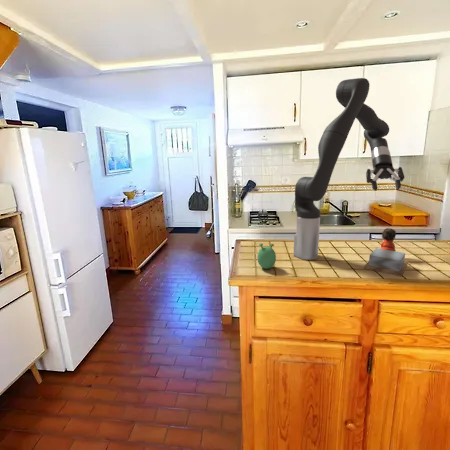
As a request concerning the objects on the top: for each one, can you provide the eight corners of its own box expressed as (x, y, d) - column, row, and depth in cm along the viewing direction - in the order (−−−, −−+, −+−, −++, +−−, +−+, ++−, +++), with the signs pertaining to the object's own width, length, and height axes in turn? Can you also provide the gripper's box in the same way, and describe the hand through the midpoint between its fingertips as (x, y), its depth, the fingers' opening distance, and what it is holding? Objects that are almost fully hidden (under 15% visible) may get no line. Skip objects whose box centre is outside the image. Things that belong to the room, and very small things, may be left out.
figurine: (397, 259, 116) (401, 230, 113) (382, 258, 117) (385, 230, 114) (391, 254, 122) (395, 226, 119) (377, 253, 123) (380, 226, 120)
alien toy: (273, 263, 114) (274, 239, 112) (277, 271, 106) (277, 245, 104) (256, 264, 114) (256, 240, 112) (258, 271, 107) (258, 246, 104)
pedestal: (364, 268, 107) (366, 255, 106) (372, 259, 116) (373, 247, 115) (401, 276, 100) (403, 262, 99) (407, 265, 109) (408, 252, 108)
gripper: (365, 154, 127) (370, 185, 120) (401, 152, 124) (409, 183, 116) (362, 165, 133) (366, 194, 126) (396, 163, 130) (403, 193, 123)
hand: (387, 189), depth 121 cm, fingers open, 8 cm apart
